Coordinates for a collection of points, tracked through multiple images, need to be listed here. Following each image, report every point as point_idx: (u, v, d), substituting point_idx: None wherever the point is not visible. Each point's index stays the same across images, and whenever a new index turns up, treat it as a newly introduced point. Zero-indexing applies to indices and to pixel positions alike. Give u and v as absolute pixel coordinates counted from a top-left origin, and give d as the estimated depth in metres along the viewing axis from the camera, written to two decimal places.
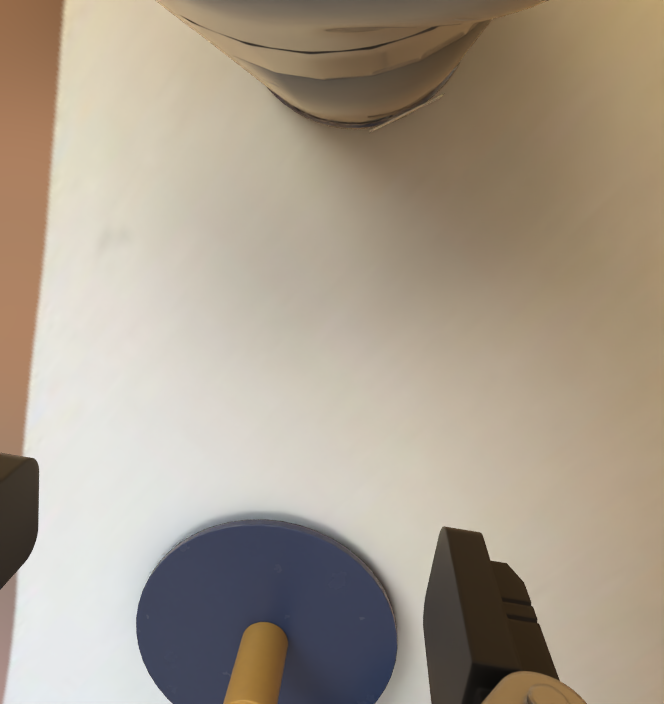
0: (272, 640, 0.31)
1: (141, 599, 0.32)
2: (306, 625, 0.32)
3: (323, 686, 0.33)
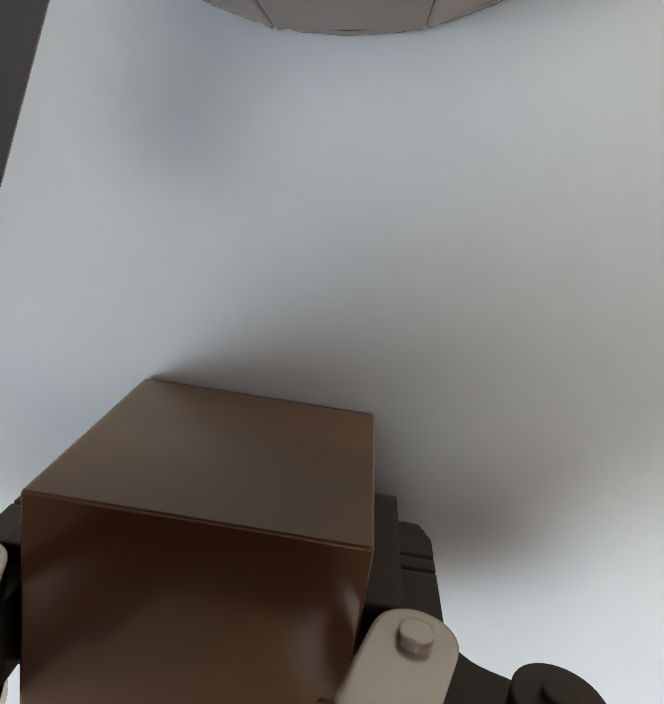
0: None
1: None
2: None
3: None
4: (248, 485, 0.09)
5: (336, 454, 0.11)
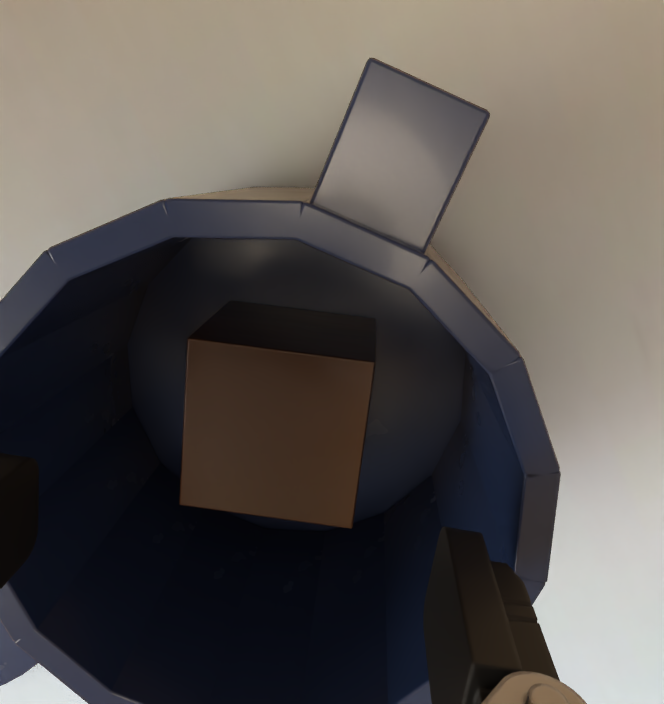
0: None
1: None
2: None
3: None
4: (305, 340, 0.17)
5: (353, 332, 0.18)
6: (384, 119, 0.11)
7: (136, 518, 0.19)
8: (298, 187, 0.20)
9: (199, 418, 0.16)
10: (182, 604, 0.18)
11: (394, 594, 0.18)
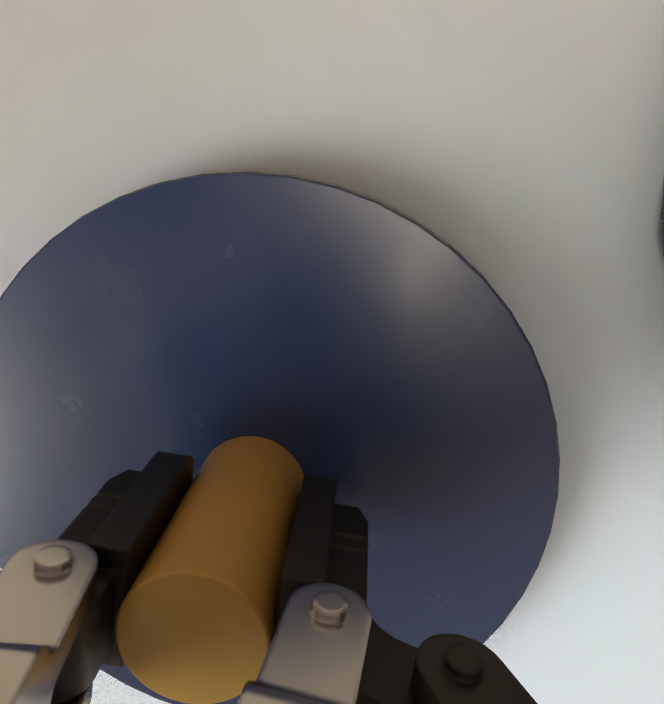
0: (200, 472, 0.13)
1: (114, 675, 0.16)
2: (226, 385, 0.14)
3: (406, 394, 0.13)
4: None
5: None
6: None
7: None
8: None
9: None
10: None
11: None
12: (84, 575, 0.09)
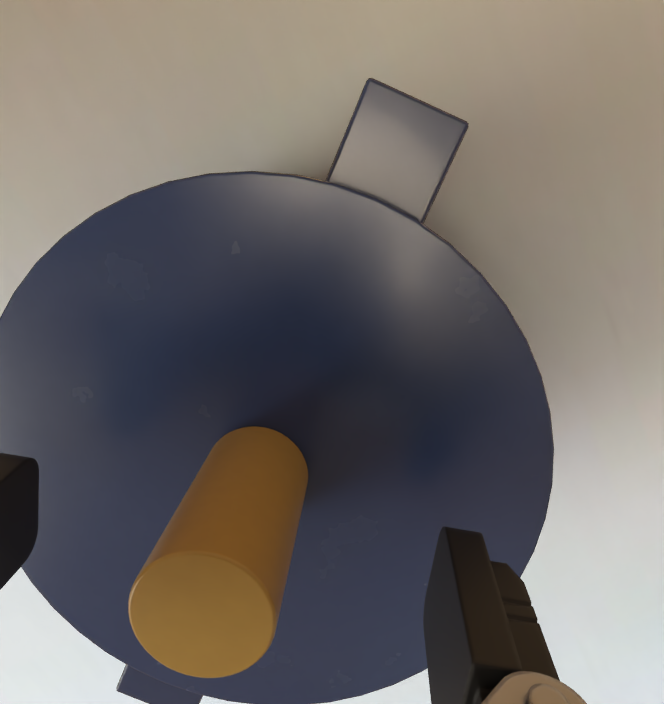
0: (207, 460, 0.13)
1: (123, 660, 0.17)
2: (231, 377, 0.14)
3: (406, 386, 0.14)
4: None
5: None
6: (381, 129, 0.14)
7: None
8: None
9: None
10: None
11: None
12: None
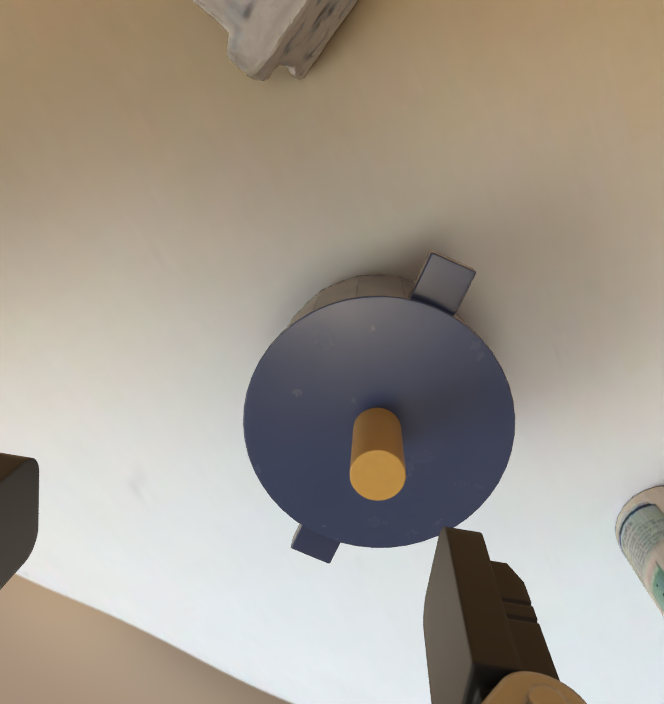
0: (359, 422, 0.30)
1: (304, 524, 0.33)
2: (367, 385, 0.31)
3: (447, 389, 0.31)
4: None
5: None
6: (437, 274, 0.30)
7: None
8: (381, 275, 0.39)
9: None
10: None
11: None
12: None
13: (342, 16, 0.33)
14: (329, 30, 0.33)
